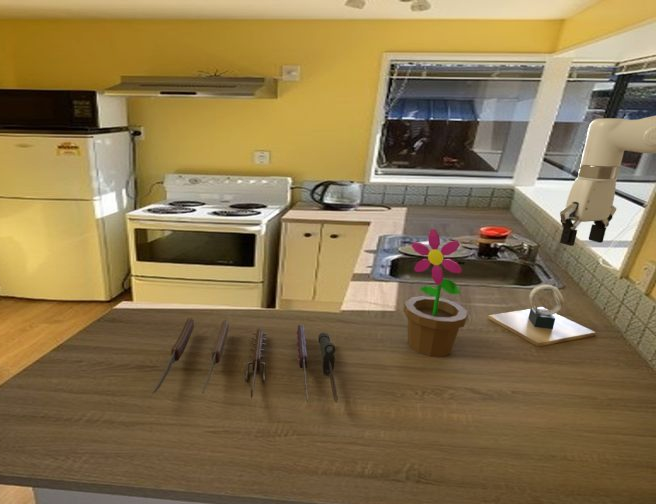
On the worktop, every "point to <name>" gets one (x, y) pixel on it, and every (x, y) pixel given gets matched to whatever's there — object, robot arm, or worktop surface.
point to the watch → (543, 316)
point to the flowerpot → (435, 303)
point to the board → (541, 336)
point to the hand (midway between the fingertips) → (581, 242)
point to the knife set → (256, 354)
